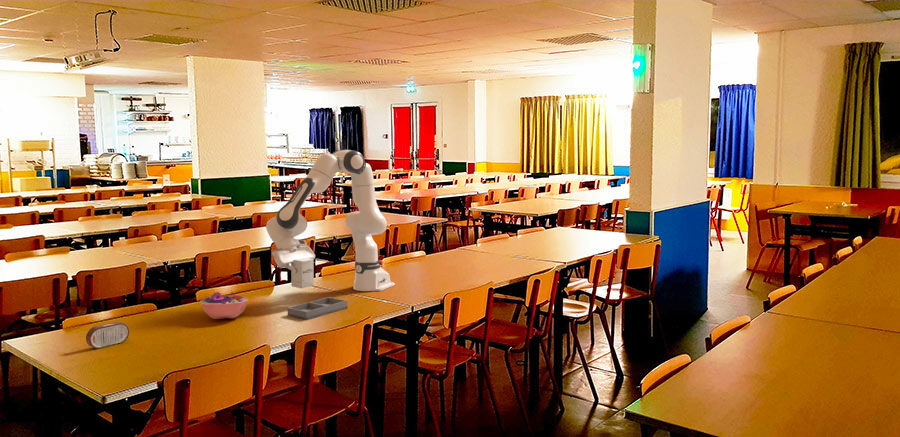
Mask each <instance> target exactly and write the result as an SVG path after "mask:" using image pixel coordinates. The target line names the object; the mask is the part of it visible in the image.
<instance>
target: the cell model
mask: <svg viewBox="0 0 900 437" xmlns="http://www.w3.org/2000/svg"><path fill="white" fill-rule="evenodd" d="M248 301H249V299H248V298H247V297H245V296H243V295H238V294H230V295H229V294H228V295H226V294H225V295H221V293H220V292H219V291H216V292H213V293H212V294H211V295H210V296H207V297H205V298H203V299H201V300H200V304H201V307H202V309H203V311H204V312H205V313H206V314H207V316H209V317H210V318H211V319H213V320H224V319H235V318H237V317H239V316H240V315H241V314H243V313H244V311H245V309H246V306H247V305H248V304H247V303H248Z"/></svg>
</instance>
